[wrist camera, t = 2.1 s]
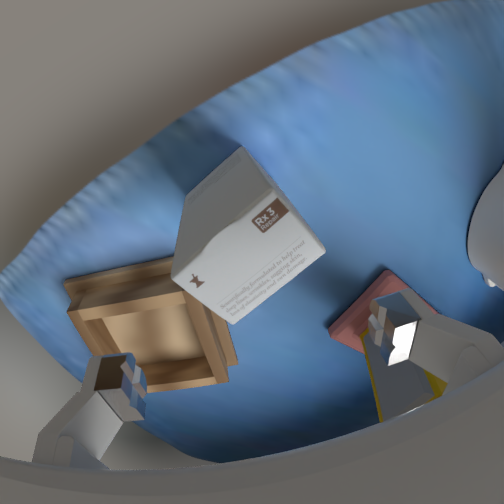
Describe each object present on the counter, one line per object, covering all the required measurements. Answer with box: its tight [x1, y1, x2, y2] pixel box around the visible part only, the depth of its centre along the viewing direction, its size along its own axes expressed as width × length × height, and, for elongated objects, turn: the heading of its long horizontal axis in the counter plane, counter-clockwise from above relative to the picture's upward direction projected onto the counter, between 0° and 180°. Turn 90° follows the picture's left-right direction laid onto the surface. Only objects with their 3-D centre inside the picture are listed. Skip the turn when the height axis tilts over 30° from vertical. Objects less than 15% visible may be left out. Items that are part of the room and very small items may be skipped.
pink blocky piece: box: [328, 270, 448, 423], centre depth 25 cm, size 22×9×22 cm, turn 53°
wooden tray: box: [63, 256, 238, 393], centre depth 28 cm, size 14×14×4 cm
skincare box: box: [171, 146, 326, 324], centre depth 19 cm, size 6×4×12 cm
